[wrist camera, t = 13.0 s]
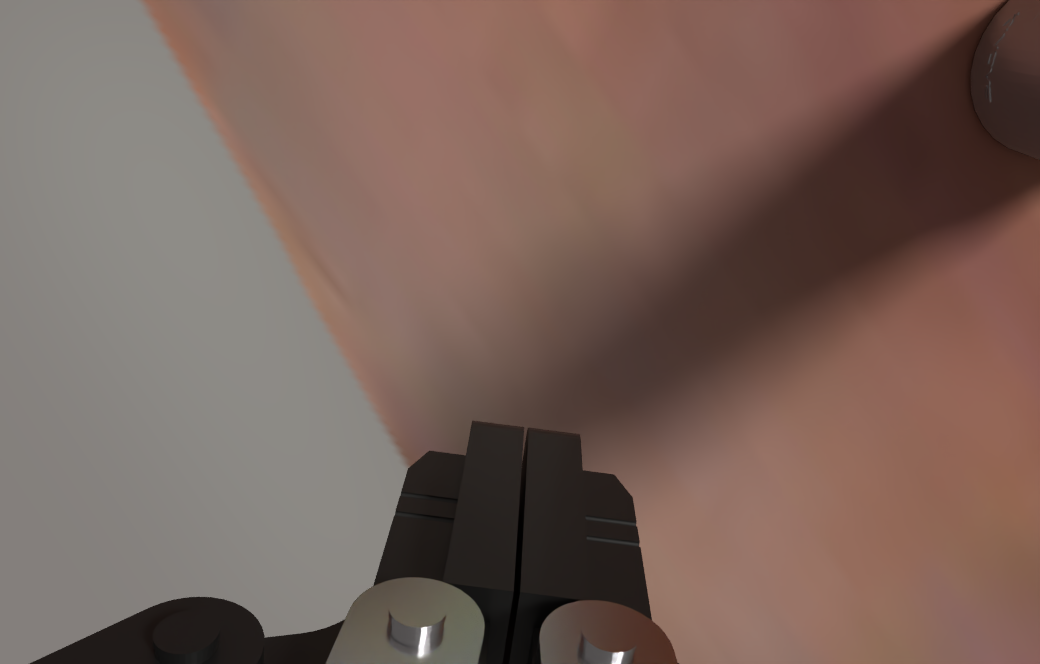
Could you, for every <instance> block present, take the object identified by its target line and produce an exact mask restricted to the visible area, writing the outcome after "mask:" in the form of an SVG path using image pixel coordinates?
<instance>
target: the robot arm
mask: <svg viewBox="0 0 1040 664" xmlns="http://www.w3.org/2000/svg"><path fill="white" fill-rule="evenodd" d="M971 96H972V100H973V104H974V109H975V111H976V113H977V115H978V117H979V119H980V121H981V123H982V125H983V127H984V128H985V129H986V130H987V131H988V132H989V133H990V135H991V136H992V137H993V138H994V139H995V140H997V141H998V142H1000V143H1001V144H1003V145H1004V146H1006V147H1007V148H1009V149H1012V150H1015V151H1017V152H1020V153H1023V154H1025V155H1028V156H1031V157H1033V158H1036V159H1039V160H1040V0H1009V1H1008V2H1007V3H1006V4H1005V5H1004V6H1003V7H1002V8H1001V9H1000V10H999V12H998V13H997V14H996V15H995V16H994V18H993V19H992V21H991V22H990V24H989V25H988V27H987V28H986V30H985V32H984V33H983V35H982V37H981V40H980V42H979V45H978V47H977V49H976V52H975V55H974V60H973V65H972V70H971ZM523 435H524V427H517V426H510V425H502V424H494V423H487V422H479V421H472V425H471V431H470V436H469V442H468V447H467V453H466V456H465V455H458V454H450V453H442V452H435V451H429V452H427V453H426V454H425V455H424V456H423V457H421V458H420V459H419V460H418V461H417V462H416V463H414V464H413V465H412V466H411V467H410V468H408V471H407V474H406V478H405V481H404V485H403V488H402V492H401V496H400V498H399V501H398V505H397V508H396V513H395V516H394V519H393V522H392V525H391V528H390V532H389V535H388V538H387V542H386V545H385V548H384V552H383V556H382V559H381V562H380V565H379V569H378V572H377V575H376V579H375V582H374V586H373V587H371V588H369V589H368V590H366V591H365V592H364V593H362V594H361V595H360V596H359V597H358V598H357V599H356V600H355V601H354V603H353V604H352V606H351V608H350V610H349V612H348V614H347V616H346V619H345V620H343V621H341V622H339V623H337V624H335V625H332V626H330V627H327V628H324V629H321V630H317V631H313V632H307V633H301V634H293V635H284V636H276V637H267V638H264V633H263V629H262V626H261V625H260V623H259V621H258V620H257V619H256V617H255V616H254V615H253V614H252V613H251V612H249V611H248V610H247V609H245V608H243V607H242V606H240V605H238V604H236V603H233V602H230V601H227V600H223V599H218V598H212V597H210V598H209V597H189V598H181V599H176V600H171V601H167V602H164V603H160V604H158V605H155V606H153V607H150V608H148V609H146V610H144V611H141V612H139V613H137V614H135V615H133V616H131V617H129V618H126V619H124V620H122V621H120V622H118V623H116V624H114V625H112V626H109V627H107V628H105V629H103V630H101V631H99V632H96V633H94V634H92V635H90V636H88V637H86V638H84V639H81V640H79V641H77V642H75V643H73V644H71V645H69V646H66V647H64V648H62V649H60V650H58V651H56V652H54V653H51V654H49V655H47V656H45V657H43V658H41V659H39V660H36V661H34V662H32V663H30V664H679V663H677V659H676V656H675V652H674V649H673V647H672V644H671V642H670V640H669V639H668V637H667V636H666V634H665V633H664V632H663V631H662V630H661V628H660V627H659V626H658V625H656V624H655V623H654V622H653V621H652V618H651V612H650V605H649V599H648V593H647V586H646V580H645V574H644V567H643V561H642V554H641V548H640V547H639V535H638V529H637V527H636V516H635V510H634V504H633V497H632V496H631V495H630V494H629V493H628V491H627V490H626V489H625V488H624V486H623V485H622V484H621V483H620V481H619V480H618V479H617V478H616V476H615V475H613V474H605V473H598V472H590V471H583V470H582V454H581V439H580V435H579V434H572V433H565V432H557V431H549V430H542V429H534V428H528V430H527V436H526V441H525V448H524V455H523V461H522V451H523ZM521 467H522V468H521Z"/></svg>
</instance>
